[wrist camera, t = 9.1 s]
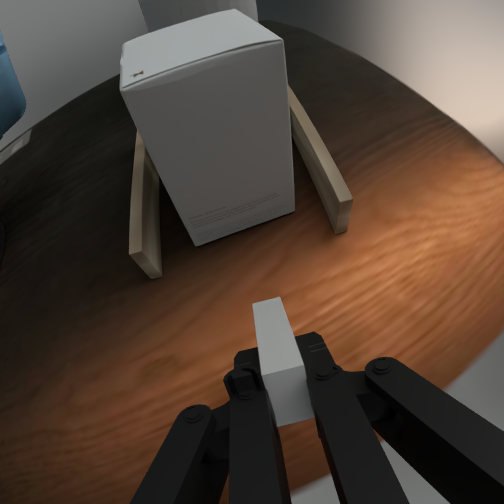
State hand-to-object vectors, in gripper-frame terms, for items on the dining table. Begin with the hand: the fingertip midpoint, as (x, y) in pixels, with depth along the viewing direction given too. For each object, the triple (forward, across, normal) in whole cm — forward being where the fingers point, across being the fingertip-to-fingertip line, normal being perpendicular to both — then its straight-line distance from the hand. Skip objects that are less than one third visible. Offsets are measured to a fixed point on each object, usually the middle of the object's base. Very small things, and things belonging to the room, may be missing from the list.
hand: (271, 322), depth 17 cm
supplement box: (+13, -1, +6) cm, 15 cm away
